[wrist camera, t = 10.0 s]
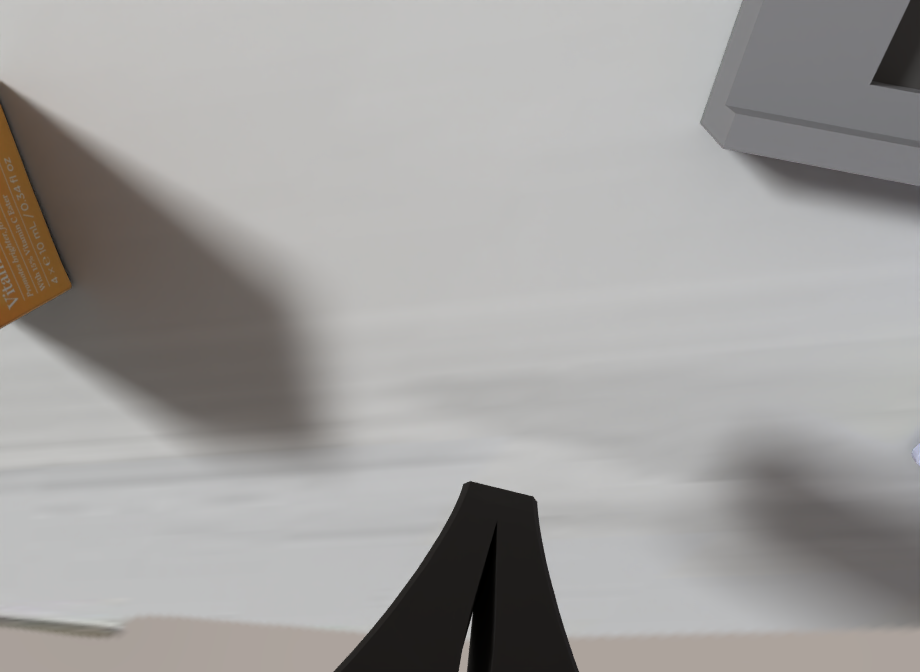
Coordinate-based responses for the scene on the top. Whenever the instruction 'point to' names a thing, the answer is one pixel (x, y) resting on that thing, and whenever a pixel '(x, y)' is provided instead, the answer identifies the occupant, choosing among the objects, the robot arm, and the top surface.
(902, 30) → the grey divided tray
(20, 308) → the small box
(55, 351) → the top surface
